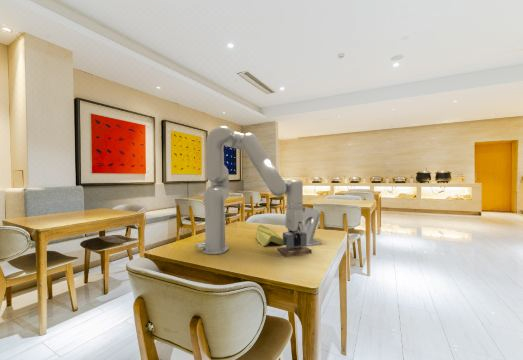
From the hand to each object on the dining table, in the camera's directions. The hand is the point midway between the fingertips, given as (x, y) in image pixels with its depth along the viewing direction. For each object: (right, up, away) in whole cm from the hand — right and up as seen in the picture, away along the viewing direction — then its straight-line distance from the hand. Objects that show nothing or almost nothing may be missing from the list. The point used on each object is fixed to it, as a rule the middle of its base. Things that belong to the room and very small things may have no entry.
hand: (294, 243), depth 111 cm
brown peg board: (0, -4, 0) cm, 4 cm away
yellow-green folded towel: (-12, -4, +18) cm, 22 cm away
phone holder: (+8, -4, +18) cm, 21 cm away
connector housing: (0, -1, 0) cm, 1 cm away
